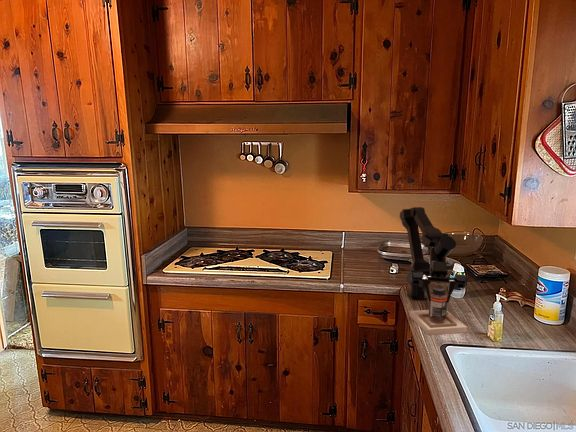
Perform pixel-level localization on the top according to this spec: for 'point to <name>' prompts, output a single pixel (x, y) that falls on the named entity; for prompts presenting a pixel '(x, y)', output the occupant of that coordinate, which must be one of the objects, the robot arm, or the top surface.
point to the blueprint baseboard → (438, 323)
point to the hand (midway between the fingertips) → (438, 301)
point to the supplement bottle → (438, 304)
